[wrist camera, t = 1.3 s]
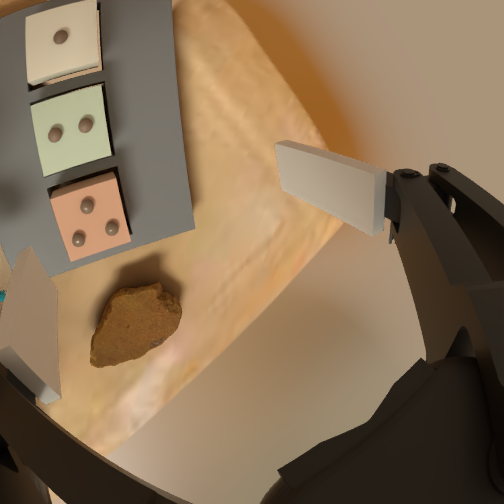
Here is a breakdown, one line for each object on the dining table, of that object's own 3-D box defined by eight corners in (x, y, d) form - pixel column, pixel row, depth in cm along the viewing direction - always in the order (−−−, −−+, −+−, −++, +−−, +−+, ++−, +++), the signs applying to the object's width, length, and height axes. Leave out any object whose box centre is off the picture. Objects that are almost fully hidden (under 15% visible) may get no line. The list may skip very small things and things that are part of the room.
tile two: (48, 170, 21) (43, 177, 19) (36, 106, 18) (29, 105, 16) (109, 150, 24) (111, 155, 21) (99, 87, 21) (101, 84, 18)
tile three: (71, 247, 26) (70, 263, 23) (53, 190, 22) (49, 200, 20) (126, 229, 28) (131, 242, 25) (112, 171, 25) (116, 178, 22)
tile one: (33, 85, 17) (27, 82, 15) (31, 26, 14) (25, 16, 12) (97, 66, 20) (99, 61, 17) (94, 8, 16) (96, -4, 14)
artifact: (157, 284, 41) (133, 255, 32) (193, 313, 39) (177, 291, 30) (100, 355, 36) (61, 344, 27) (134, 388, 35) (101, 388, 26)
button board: (23, 276, 25) (20, 288, 23) (-29, 40, 12) (-37, 35, 10) (187, 220, 33) (195, 228, 31) (163, -11, 20) (170, -19, 18)
